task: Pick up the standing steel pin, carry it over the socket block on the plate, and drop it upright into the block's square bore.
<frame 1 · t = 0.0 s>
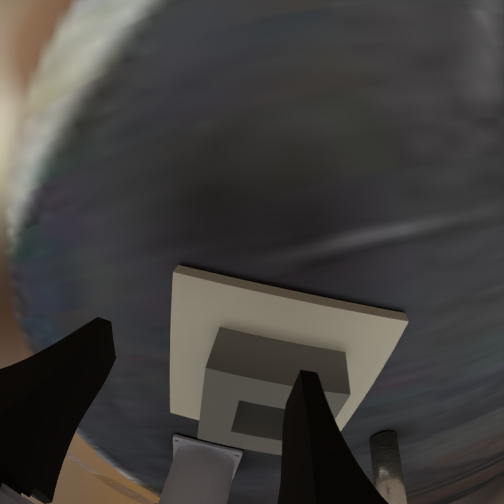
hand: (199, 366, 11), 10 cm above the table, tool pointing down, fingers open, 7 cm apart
socket block on plate: (271, 373, 24), on the table
steel pin: (383, 438, 27), on the table
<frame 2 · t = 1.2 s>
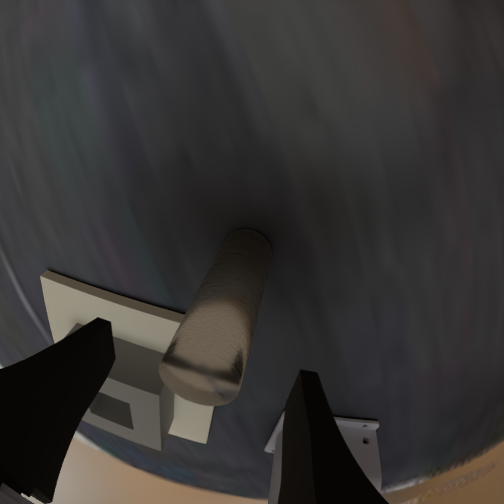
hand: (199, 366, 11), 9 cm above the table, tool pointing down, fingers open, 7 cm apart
socket block on plate: (131, 368, 26), on the table
steel pin: (247, 252, 19), on the table
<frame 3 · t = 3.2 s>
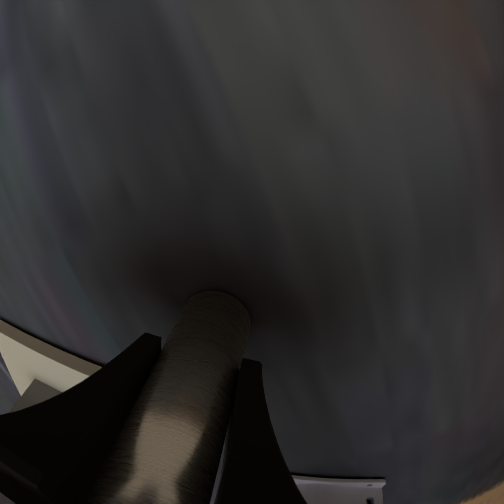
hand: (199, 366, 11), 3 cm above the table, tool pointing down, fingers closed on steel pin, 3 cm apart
socket block on plate: (101, 424, 20), on the table
steel pin: (216, 319, 14), on the table, touching gripper
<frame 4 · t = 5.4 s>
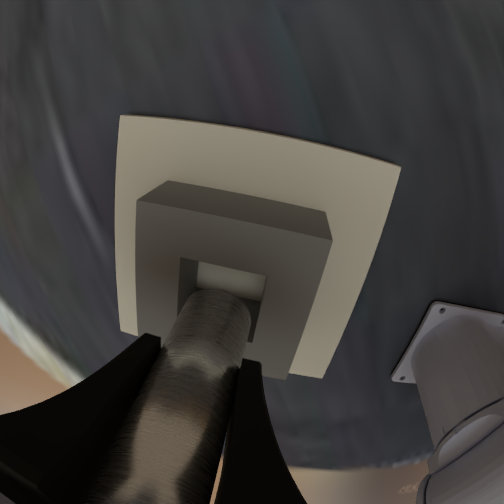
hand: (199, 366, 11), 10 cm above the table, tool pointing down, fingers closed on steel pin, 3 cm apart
socket block on plate: (235, 258, 20), on the table
steel pin: (216, 317, 14), point 7 cm above the table, touching gripper
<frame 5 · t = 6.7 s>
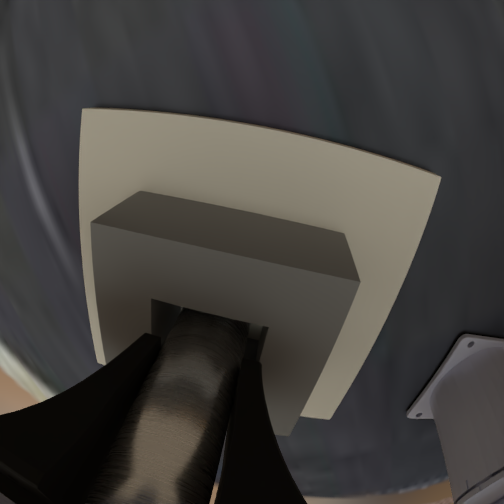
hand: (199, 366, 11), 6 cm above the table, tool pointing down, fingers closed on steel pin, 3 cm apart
socket block on plate: (228, 287, 16), on the table
steel pin: (216, 317, 14), point 3 cm above the table, touching gripper
when the fingers open (6 cm above the table, at t = 7.6 s): steel pin drops 2 cm, resting on socket block on plate.
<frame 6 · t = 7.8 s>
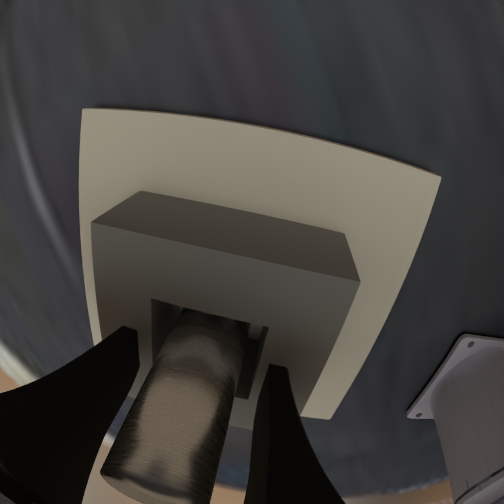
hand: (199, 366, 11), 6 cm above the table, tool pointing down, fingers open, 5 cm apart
socket block on plate: (228, 287, 16), on the table
steel pin: (224, 297, 15), point 1 cm above the table, touching socket block on plate
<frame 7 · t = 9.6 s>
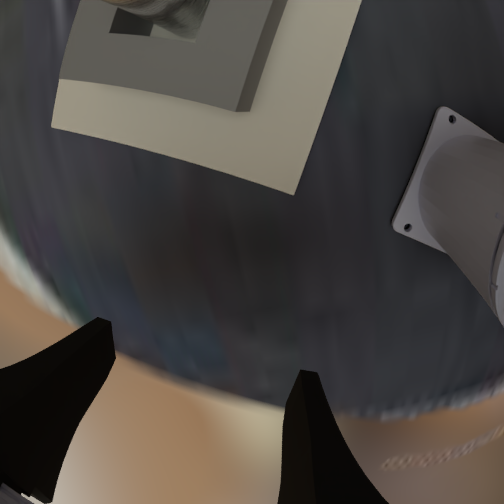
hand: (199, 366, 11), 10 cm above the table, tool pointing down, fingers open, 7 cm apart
socket block on plate: (198, 19, 14), on the table
steel pin: (193, 14, 13), point 1 cm above the table, touching socket block on plate
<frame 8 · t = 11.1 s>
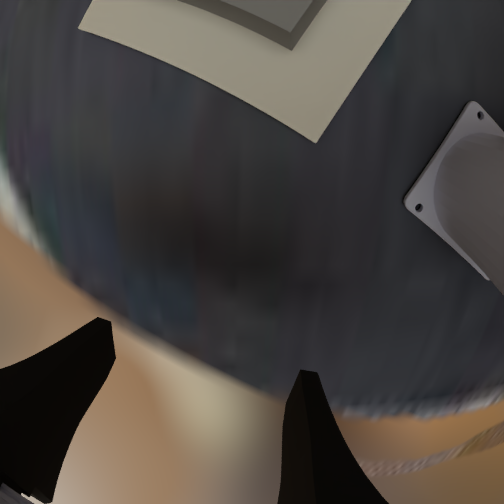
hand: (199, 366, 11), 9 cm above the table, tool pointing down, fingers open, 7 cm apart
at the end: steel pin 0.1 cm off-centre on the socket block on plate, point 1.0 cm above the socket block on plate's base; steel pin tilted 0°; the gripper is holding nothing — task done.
